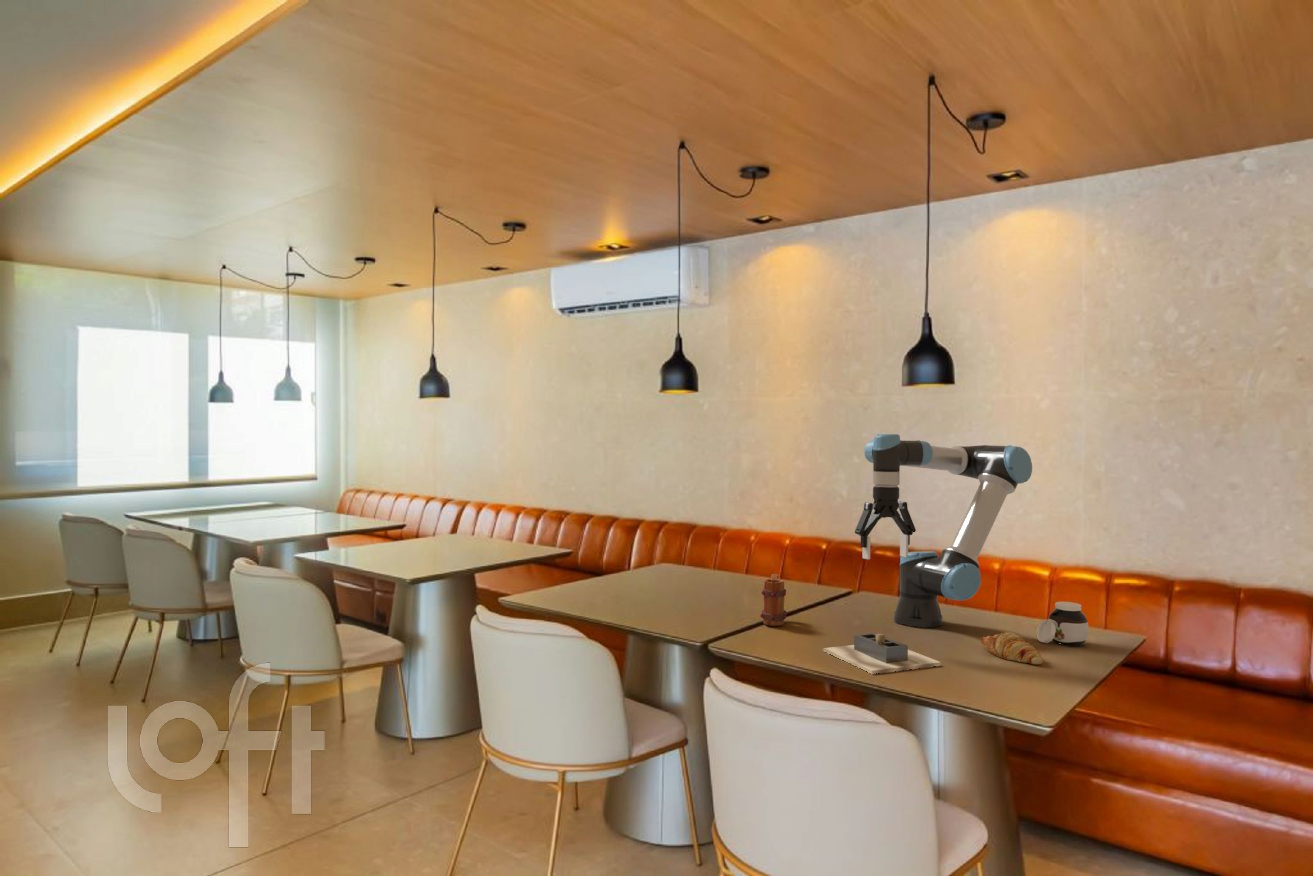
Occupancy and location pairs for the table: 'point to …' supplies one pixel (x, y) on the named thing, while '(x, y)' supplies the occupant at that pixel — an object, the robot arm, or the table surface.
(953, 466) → the robot arm
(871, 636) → the grey compartment tray
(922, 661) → the mount board
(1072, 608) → the spread jar
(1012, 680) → the table surface
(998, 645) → the croissant
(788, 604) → the table surface
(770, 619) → the brown banded canister
